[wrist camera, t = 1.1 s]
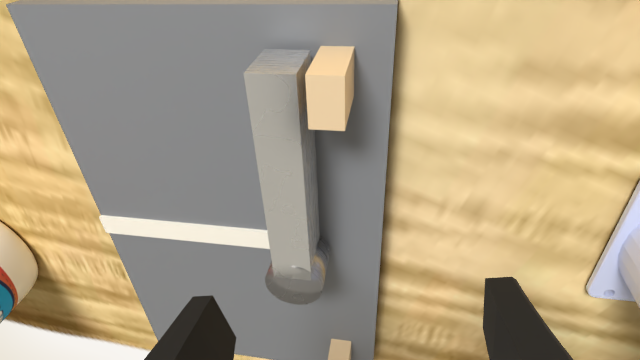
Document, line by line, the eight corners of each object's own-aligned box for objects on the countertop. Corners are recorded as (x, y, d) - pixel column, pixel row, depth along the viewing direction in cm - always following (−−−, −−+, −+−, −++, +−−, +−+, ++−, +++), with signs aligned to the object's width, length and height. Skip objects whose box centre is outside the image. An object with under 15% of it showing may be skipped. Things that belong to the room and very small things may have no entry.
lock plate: (398, -5, 16) (395, 28, 12) (373, 353, 29) (369, 419, 26) (32, -4, 18) (-61, 23, 15) (168, 326, 32) (138, 381, 28)
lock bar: (330, 269, 22) (323, 307, 20) (280, 264, 23) (268, 301, 21) (323, 50, 15) (311, 74, 13) (251, 48, 16) (229, 72, 14)
